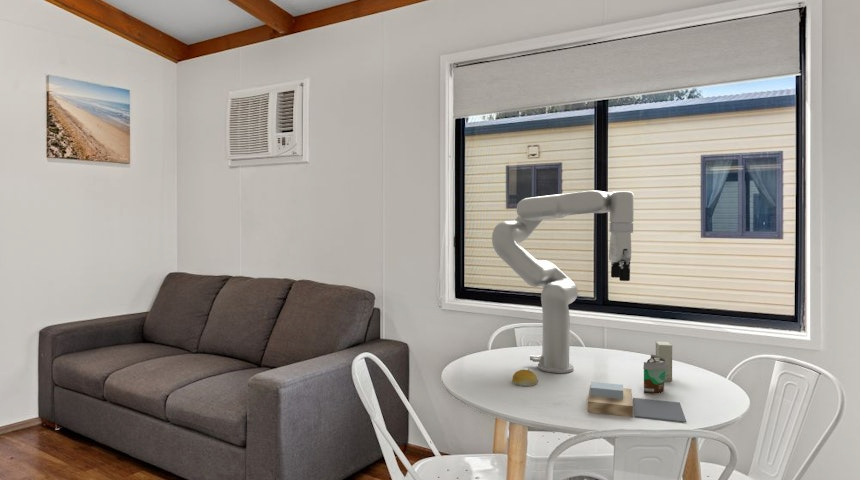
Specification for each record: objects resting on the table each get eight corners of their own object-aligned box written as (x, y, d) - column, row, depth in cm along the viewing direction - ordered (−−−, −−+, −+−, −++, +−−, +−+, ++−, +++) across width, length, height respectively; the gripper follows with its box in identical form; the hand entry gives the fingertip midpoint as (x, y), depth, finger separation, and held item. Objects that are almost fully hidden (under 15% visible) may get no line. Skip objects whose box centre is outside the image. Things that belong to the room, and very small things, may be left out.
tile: (590, 396, 161) (590, 387, 161) (591, 389, 167) (591, 381, 167) (623, 399, 158) (623, 390, 158) (622, 393, 164) (622, 384, 164)
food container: (664, 397, 169) (664, 365, 169) (642, 394, 172) (643, 362, 172) (670, 387, 180) (671, 356, 179) (650, 384, 183) (651, 354, 182)
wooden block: (587, 411, 157) (587, 401, 157) (589, 394, 172) (590, 384, 172) (632, 416, 153) (632, 406, 153) (631, 398, 168) (631, 388, 168)
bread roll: (512, 386, 180) (512, 374, 180) (513, 378, 189) (513, 366, 189) (538, 388, 179) (538, 375, 179) (537, 379, 188) (537, 368, 187)
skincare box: (672, 381, 186) (673, 345, 185) (658, 380, 187) (659, 344, 186) (668, 376, 192) (669, 341, 191) (654, 375, 193) (655, 340, 192)
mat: (634, 417, 153) (634, 415, 153) (632, 398, 168) (632, 397, 168) (686, 422, 149) (686, 421, 149) (679, 403, 164) (679, 402, 164)
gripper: (603, 227, 195) (601, 276, 196) (617, 228, 178) (616, 282, 179) (624, 227, 195) (623, 276, 196) (641, 229, 178) (640, 282, 178)
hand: (620, 279), depth 187 cm, fingers open, 9 cm apart
